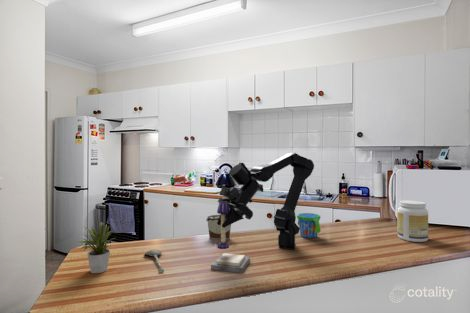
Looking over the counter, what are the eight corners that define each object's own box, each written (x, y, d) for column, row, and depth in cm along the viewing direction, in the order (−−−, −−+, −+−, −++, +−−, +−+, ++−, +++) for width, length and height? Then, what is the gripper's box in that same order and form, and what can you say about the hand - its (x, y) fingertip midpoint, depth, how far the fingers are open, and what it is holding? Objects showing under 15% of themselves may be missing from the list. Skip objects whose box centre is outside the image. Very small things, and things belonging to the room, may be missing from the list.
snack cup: (291, 232, 146) (291, 212, 146) (311, 231, 148) (311, 211, 148) (305, 242, 130) (305, 219, 130) (327, 240, 133) (327, 218, 133)
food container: (234, 235, 141) (234, 214, 141) (232, 239, 135) (232, 217, 135) (208, 234, 142) (208, 214, 142) (206, 238, 136) (206, 216, 136)
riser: (249, 261, 108) (249, 254, 108) (242, 272, 97) (242, 265, 97) (221, 258, 111) (221, 251, 111) (210, 269, 100) (210, 261, 100)
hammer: (160, 253, 119) (143, 257, 116) (160, 245, 119) (143, 248, 116) (171, 272, 99) (150, 276, 96) (170, 261, 99) (150, 265, 96)
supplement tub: (433, 239, 133) (433, 202, 133) (420, 244, 127) (420, 205, 126) (405, 233, 143) (405, 199, 143) (392, 237, 137) (392, 201, 136)
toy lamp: (217, 245, 110) (216, 200, 109) (229, 244, 110) (229, 200, 110) (217, 249, 105) (216, 203, 105) (230, 249, 105) (230, 202, 105)
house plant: (76, 264, 104) (76, 219, 104) (118, 259, 110) (118, 215, 110) (71, 281, 91) (71, 228, 91) (119, 273, 97) (119, 224, 96)
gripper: (221, 177, 117) (196, 207, 112) (244, 181, 101) (215, 216, 96) (239, 195, 121) (215, 225, 116) (264, 201, 104) (237, 237, 100)
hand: (220, 225), depth 107 cm, fingers closed on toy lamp, 4 cm apart
